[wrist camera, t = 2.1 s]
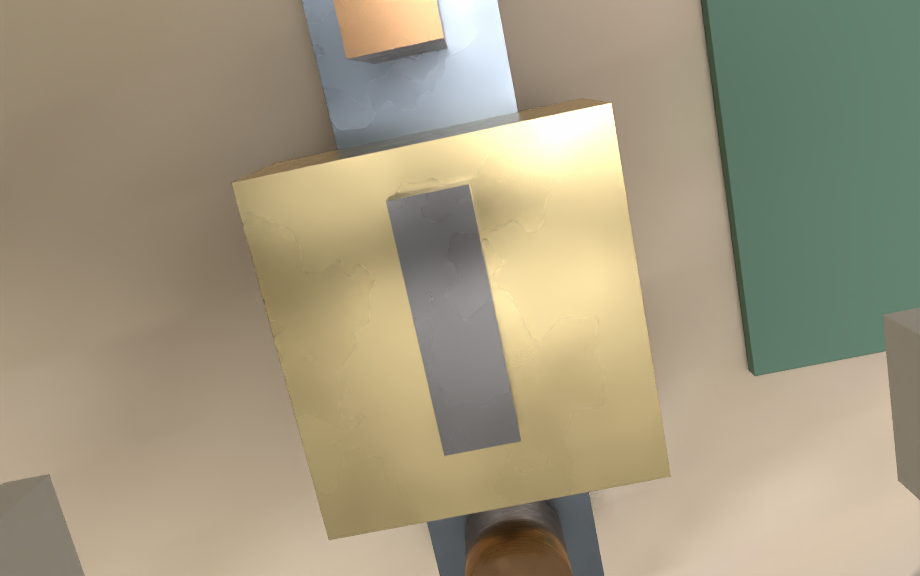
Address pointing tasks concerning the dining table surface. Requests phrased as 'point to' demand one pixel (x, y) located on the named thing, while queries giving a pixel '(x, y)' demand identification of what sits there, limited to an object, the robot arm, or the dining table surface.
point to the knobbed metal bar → (423, 109)
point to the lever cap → (459, 317)
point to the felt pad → (819, 170)
